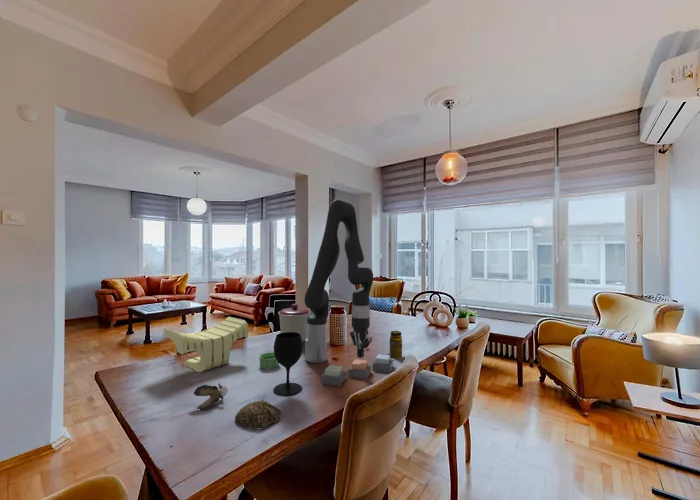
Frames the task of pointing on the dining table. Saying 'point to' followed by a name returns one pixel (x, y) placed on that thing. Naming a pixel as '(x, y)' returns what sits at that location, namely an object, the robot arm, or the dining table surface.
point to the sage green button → (334, 370)
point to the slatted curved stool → (210, 343)
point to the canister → (294, 320)
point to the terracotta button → (359, 364)
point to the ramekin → (268, 360)
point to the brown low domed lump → (258, 414)
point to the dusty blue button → (383, 359)
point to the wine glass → (287, 359)
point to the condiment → (395, 345)
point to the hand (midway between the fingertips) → (360, 357)
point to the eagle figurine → (211, 392)
